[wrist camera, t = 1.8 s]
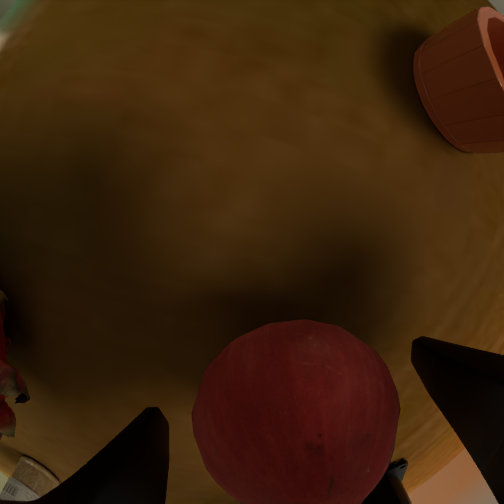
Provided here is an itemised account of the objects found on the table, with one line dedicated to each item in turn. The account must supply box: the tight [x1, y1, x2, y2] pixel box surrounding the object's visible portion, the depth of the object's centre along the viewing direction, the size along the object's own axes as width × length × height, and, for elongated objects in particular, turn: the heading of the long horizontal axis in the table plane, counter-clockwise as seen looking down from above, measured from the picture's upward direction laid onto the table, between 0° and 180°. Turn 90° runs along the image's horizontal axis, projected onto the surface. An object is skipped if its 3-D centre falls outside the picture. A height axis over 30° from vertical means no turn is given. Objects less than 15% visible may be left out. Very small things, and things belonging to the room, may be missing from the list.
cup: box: [413, 7, 504, 153], centre depth 6 cm, size 6×6×4 cm
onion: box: [192, 319, 400, 504], centre depth 7 cm, size 6×6×8 cm
